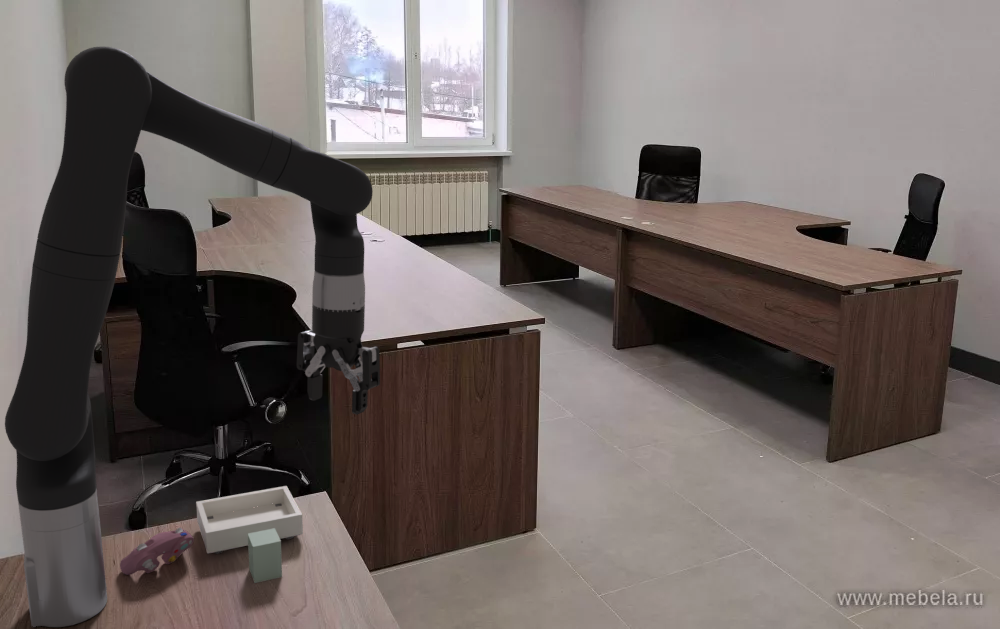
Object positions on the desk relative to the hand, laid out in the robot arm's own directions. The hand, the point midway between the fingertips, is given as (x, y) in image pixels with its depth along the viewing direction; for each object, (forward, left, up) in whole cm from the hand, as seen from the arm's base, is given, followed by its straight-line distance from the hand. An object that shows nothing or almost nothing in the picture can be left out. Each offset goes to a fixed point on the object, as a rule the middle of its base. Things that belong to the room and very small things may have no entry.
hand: (336, 405), depth 124 cm
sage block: (-12, -2, -24) cm, 27 cm away
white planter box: (-12, +10, -24) cm, 29 cm away
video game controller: (-26, +6, -25) cm, 36 cm away
